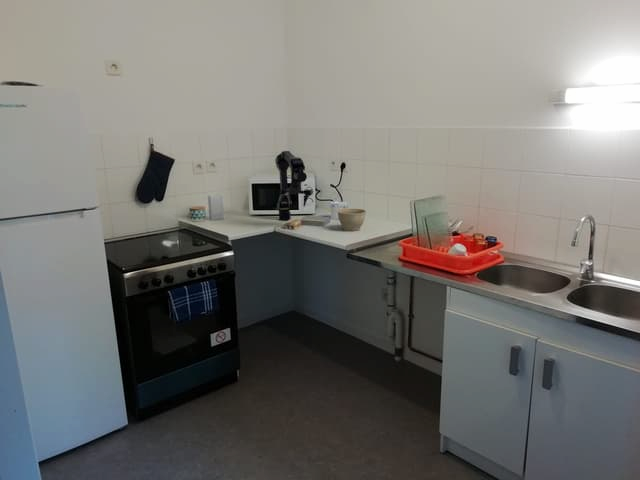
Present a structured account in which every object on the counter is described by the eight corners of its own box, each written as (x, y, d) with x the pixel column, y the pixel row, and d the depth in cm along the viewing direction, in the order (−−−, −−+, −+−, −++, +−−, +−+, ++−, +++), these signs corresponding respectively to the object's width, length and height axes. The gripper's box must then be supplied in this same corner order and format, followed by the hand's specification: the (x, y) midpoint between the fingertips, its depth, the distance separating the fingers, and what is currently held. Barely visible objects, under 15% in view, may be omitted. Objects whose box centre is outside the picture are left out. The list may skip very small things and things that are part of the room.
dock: (298, 224, 300) (298, 219, 299) (305, 220, 312) (305, 215, 311) (323, 226, 295) (323, 220, 294) (330, 222, 307) (330, 216, 306)
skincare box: (221, 217, 322) (220, 193, 318) (224, 219, 316) (223, 195, 313) (208, 218, 318) (207, 194, 314) (211, 220, 313) (210, 196, 309)
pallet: (285, 229, 289) (285, 222, 288) (291, 225, 298) (291, 219, 297) (294, 230, 287) (294, 223, 286) (300, 226, 296) (300, 219, 295)
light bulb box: (347, 217, 321) (347, 201, 318) (347, 219, 314) (347, 203, 311) (331, 217, 322) (331, 201, 319) (330, 219, 315) (330, 202, 312)
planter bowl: (345, 225, 298) (345, 207, 295) (370, 228, 290) (370, 210, 287) (332, 230, 284) (332, 211, 282) (357, 233, 276) (358, 214, 274)
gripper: (276, 181, 281) (277, 208, 285) (308, 182, 277) (308, 209, 281) (282, 179, 292) (282, 205, 295) (313, 179, 288) (313, 206, 291)
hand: (296, 206), depth 291 cm, fingers open, 9 cm apart
